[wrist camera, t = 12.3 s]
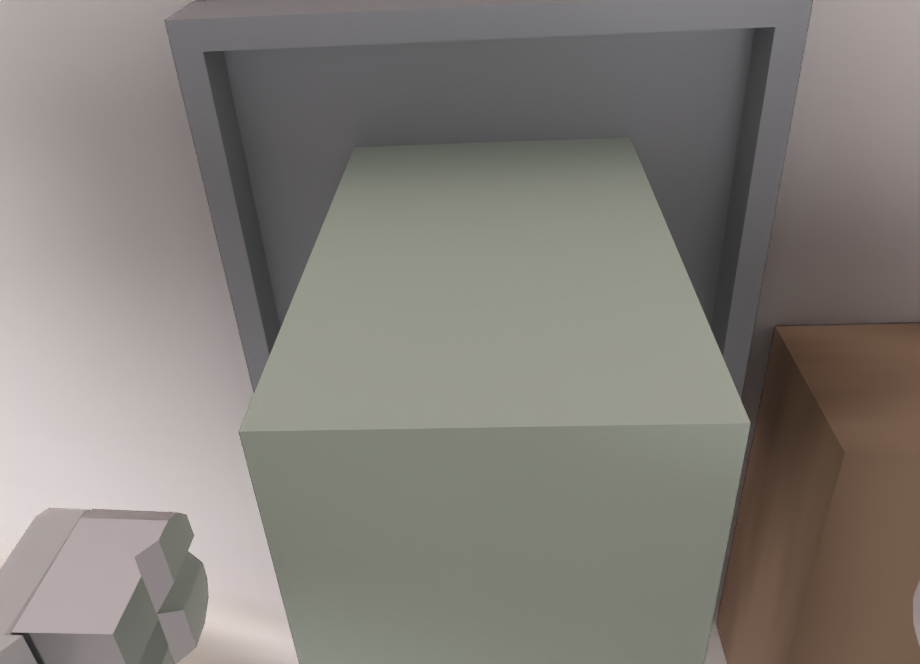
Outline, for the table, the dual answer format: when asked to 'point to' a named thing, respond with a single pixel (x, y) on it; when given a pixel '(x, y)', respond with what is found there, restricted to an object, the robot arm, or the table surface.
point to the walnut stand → (830, 503)
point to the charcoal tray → (489, 119)
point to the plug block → (496, 417)
